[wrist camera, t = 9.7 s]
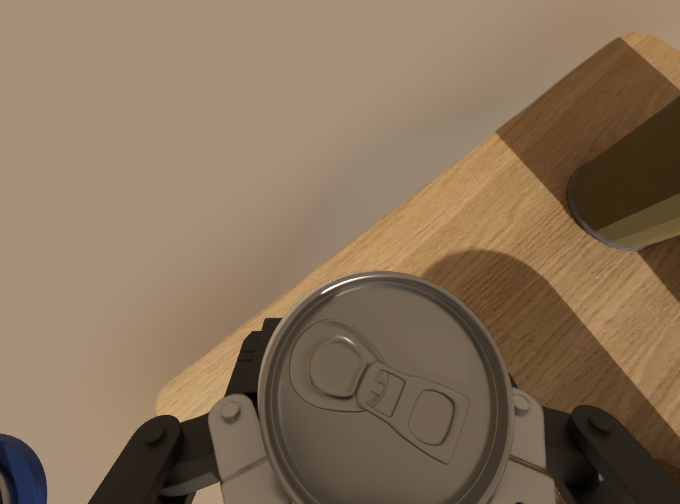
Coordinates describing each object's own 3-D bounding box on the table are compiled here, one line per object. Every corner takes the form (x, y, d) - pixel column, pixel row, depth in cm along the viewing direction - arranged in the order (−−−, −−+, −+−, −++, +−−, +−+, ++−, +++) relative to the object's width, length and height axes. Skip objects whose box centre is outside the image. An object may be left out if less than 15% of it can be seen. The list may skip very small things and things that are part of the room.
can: (331, 292, 20) (322, 212, 8) (428, 340, 19) (569, 326, 7) (279, 393, 18) (177, 472, 6) (384, 451, 17) (478, 659, 6)
